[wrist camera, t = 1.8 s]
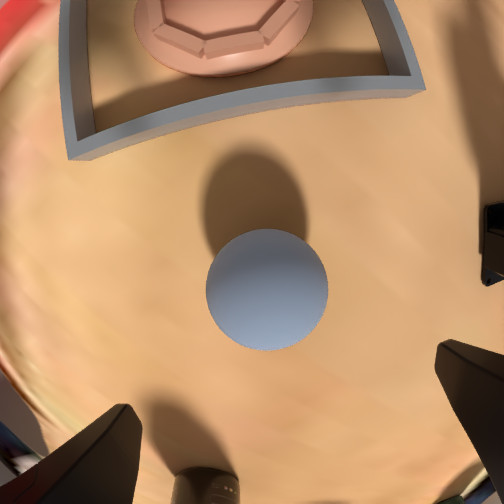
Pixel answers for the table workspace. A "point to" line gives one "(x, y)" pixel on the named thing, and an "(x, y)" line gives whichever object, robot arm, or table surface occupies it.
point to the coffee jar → (454, 500)
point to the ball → (267, 289)
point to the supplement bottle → (205, 487)
